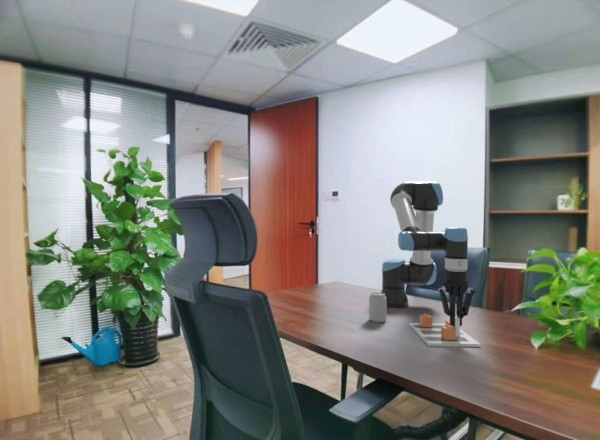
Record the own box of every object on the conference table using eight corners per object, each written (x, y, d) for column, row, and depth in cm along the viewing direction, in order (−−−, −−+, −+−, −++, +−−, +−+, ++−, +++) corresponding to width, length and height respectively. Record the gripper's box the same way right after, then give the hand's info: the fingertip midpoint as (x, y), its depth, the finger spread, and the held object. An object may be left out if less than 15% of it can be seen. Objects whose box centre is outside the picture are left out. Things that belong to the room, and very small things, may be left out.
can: (367, 321, 146) (367, 294, 146) (371, 317, 153) (371, 290, 153) (384, 324, 143) (384, 296, 143) (388, 319, 149) (388, 292, 149)
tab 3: (441, 336, 124) (441, 324, 124) (452, 336, 124) (452, 324, 124) (444, 339, 121) (444, 326, 121) (455, 339, 120) (455, 327, 120)
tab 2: (445, 330, 131) (445, 318, 131) (455, 330, 130) (455, 318, 130) (448, 333, 127) (448, 321, 127) (459, 333, 127) (459, 321, 127)
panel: (409, 325, 141) (409, 322, 141) (453, 326, 140) (453, 323, 140) (428, 346, 118) (428, 342, 118) (480, 346, 117) (480, 343, 117)
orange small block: (419, 324, 138) (419, 313, 138) (429, 324, 138) (429, 313, 138) (422, 327, 135) (422, 315, 135) (432, 327, 135) (432, 315, 135)
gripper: (441, 271, 118) (441, 338, 119) (479, 271, 118) (479, 338, 118) (434, 268, 126) (434, 331, 126) (469, 268, 126) (469, 331, 126)
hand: (455, 334), depth 122 cm, fingers closed
